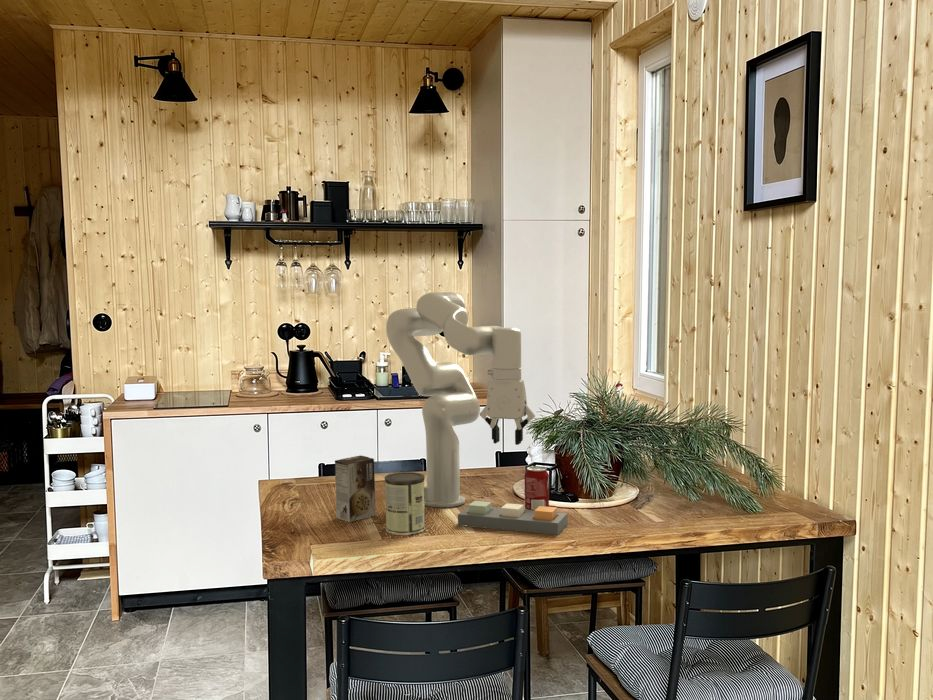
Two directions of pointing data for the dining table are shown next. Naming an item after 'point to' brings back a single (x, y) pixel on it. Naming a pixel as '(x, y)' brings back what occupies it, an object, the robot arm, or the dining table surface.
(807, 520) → the dining table surface
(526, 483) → the soda can
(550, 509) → the orange button
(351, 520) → the grey cardboard box
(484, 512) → the sage button
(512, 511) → the cream button
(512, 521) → the button panel
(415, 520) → the coffee can
